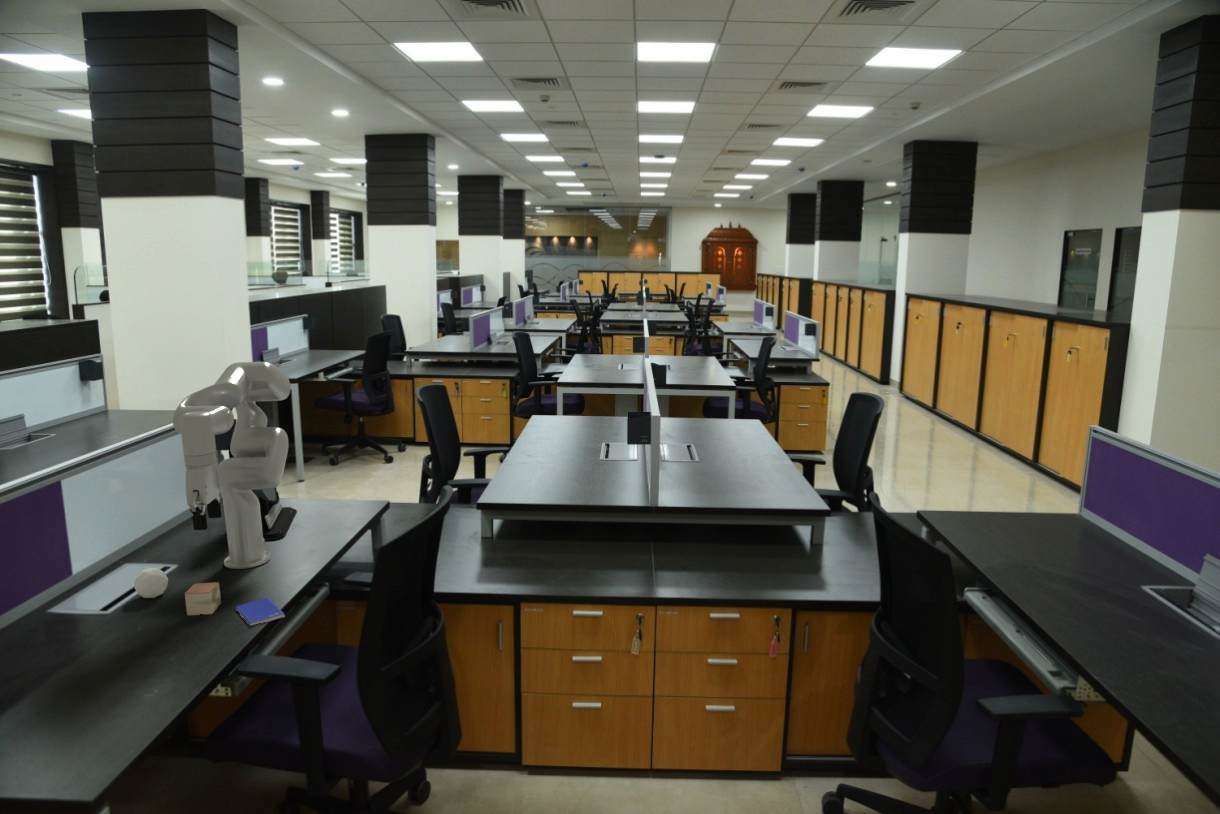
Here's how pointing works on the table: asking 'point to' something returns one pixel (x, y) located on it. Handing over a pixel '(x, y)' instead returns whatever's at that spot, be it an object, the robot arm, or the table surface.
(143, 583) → the geometric ball
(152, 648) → the table surface
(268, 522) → the award
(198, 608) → the maple cube
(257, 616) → the hard drive
